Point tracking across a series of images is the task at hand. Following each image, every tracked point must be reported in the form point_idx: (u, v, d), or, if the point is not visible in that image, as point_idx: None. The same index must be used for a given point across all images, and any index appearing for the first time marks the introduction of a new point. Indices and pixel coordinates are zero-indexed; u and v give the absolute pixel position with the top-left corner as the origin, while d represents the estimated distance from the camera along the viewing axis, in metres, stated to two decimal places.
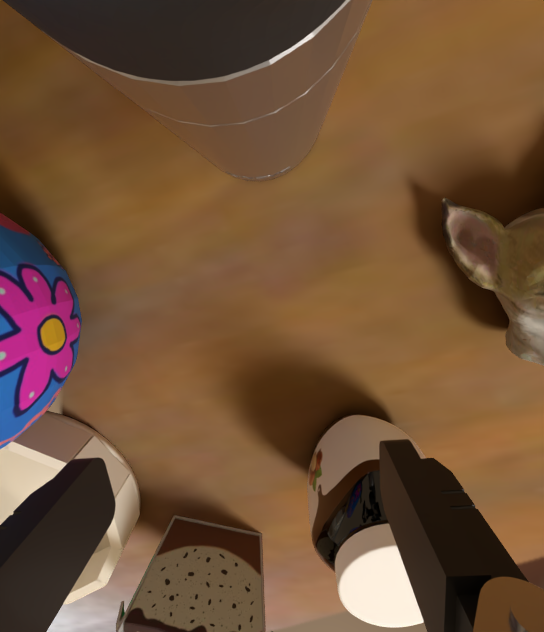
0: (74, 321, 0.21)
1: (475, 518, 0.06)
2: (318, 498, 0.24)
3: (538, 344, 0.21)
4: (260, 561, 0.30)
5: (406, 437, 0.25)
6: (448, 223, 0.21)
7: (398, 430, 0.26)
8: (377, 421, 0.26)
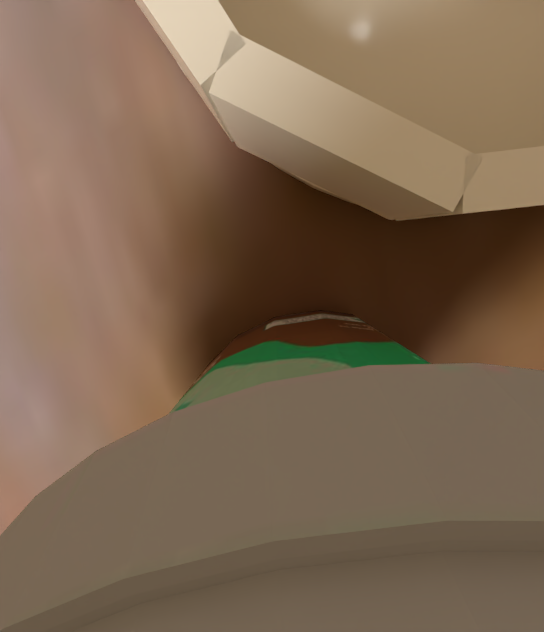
0: None
1: None
2: None
3: None
4: None
5: None
6: None
7: None
8: None
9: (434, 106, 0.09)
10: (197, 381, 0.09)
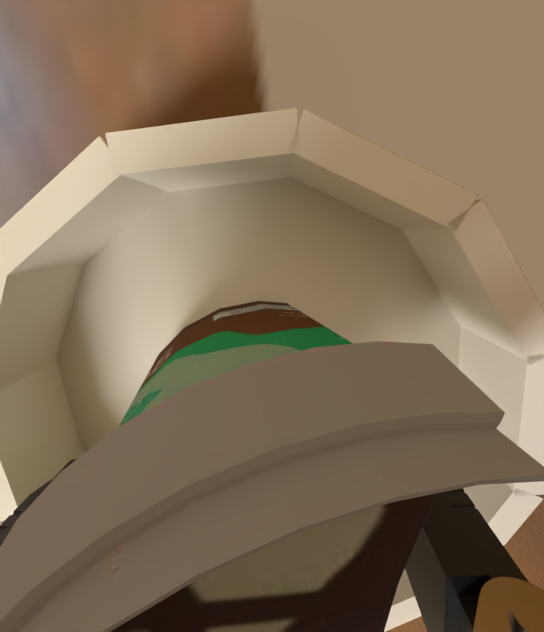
0: None
1: (475, 518, 0.06)
2: None
3: None
4: None
5: None
6: None
7: None
8: None
9: None
10: (154, 372, 0.09)
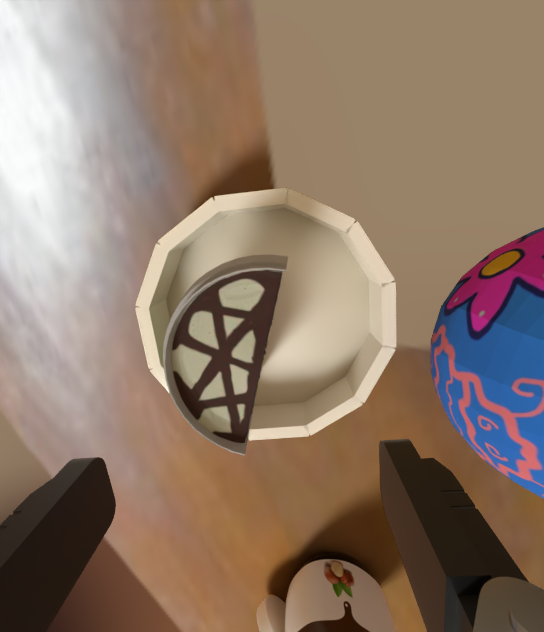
0: None
1: (475, 518, 0.06)
2: (345, 611, 0.29)
3: None
4: None
5: None
6: None
7: None
8: None
9: (260, 386, 0.29)
10: None
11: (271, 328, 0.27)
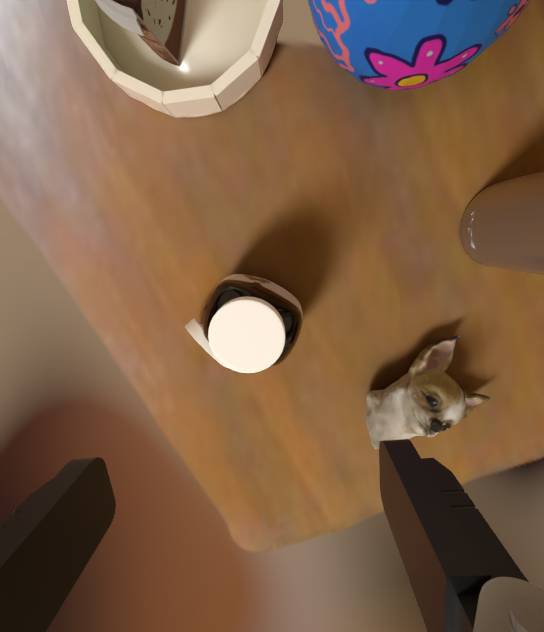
0: (400, 89, 0.28)
1: (475, 518, 0.06)
2: (254, 282, 0.32)
3: (385, 402, 0.36)
4: (169, 52, 0.29)
5: None
6: (444, 342, 0.37)
7: None
8: None
9: (180, 84, 0.32)
10: None
11: (186, 19, 0.31)
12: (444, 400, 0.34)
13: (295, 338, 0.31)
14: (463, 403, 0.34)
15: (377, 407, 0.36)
